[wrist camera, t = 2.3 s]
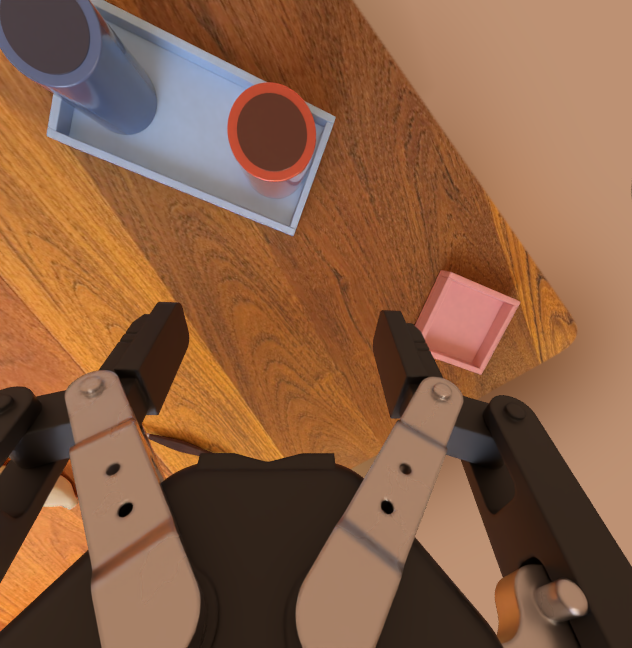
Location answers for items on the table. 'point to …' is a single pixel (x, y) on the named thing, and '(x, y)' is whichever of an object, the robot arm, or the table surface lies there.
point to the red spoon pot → (272, 138)
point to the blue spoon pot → (78, 61)
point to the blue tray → (186, 126)
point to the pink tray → (464, 321)
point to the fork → (177, 444)
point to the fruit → (60, 494)
